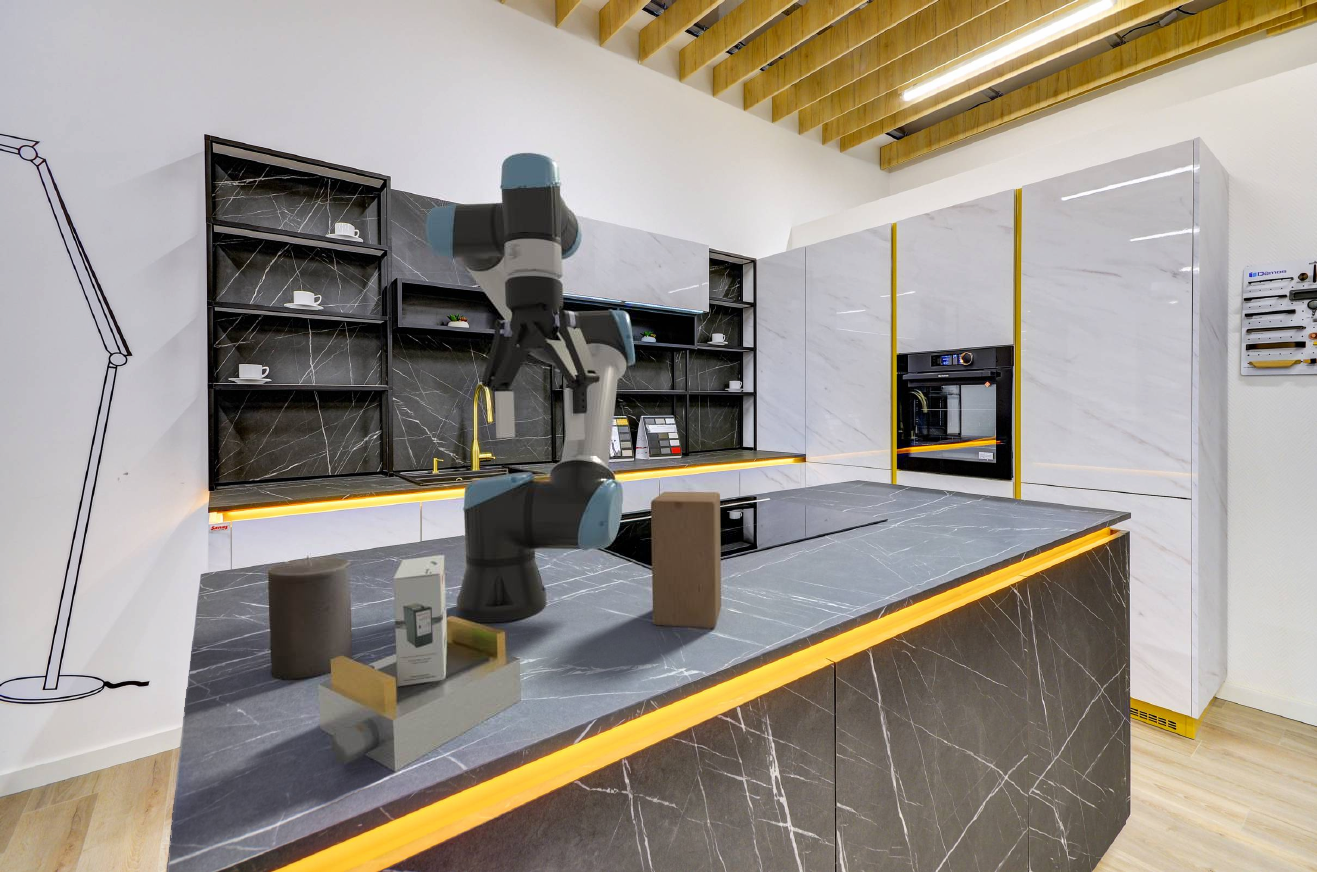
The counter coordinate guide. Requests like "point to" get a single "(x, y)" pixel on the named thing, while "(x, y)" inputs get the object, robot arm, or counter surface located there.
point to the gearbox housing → (418, 698)
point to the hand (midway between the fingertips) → (538, 438)
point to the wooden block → (686, 559)
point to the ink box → (420, 620)
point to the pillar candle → (309, 616)
